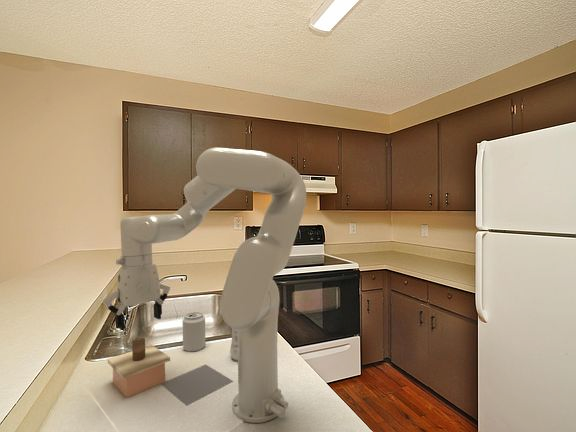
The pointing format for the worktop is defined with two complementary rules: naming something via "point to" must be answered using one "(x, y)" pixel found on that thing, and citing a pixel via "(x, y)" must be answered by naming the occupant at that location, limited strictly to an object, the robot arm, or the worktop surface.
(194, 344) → the can
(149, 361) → the lid
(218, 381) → the mat
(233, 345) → the plastic bottle
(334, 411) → the worktop surface
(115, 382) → the pink open storage bin
